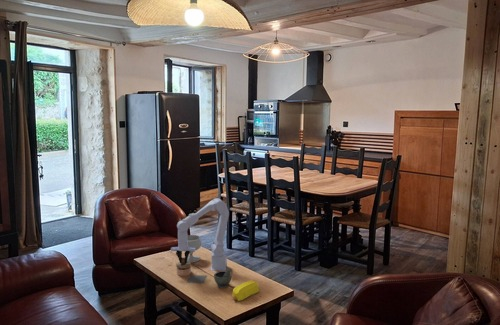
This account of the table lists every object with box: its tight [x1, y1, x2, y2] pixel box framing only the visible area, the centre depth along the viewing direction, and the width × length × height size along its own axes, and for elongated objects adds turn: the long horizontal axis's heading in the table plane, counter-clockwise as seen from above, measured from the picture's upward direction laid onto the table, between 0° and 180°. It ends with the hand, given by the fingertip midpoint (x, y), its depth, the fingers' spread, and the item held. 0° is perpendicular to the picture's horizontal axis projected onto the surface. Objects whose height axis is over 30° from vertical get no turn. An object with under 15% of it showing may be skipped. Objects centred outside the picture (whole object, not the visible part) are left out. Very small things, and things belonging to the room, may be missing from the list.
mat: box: [186, 274, 208, 284], centre depth 220 cm, size 10×10×1 cm
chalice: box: [183, 234, 202, 263], centre depth 250 cm, size 14×14×15 cm
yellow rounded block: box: [232, 279, 260, 302], centre depth 201 cm, size 18×7×8 cm
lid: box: [175, 257, 192, 268], centre depth 228 cm, size 9×9×4 cm
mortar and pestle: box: [213, 267, 233, 289], centre depth 211 cm, size 11×9×12 cm
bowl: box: [175, 265, 192, 277], centre depth 229 cm, size 8×8×4 cm
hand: (183, 262), depth 228 cm, fingers closed on lid, 3 cm apart
